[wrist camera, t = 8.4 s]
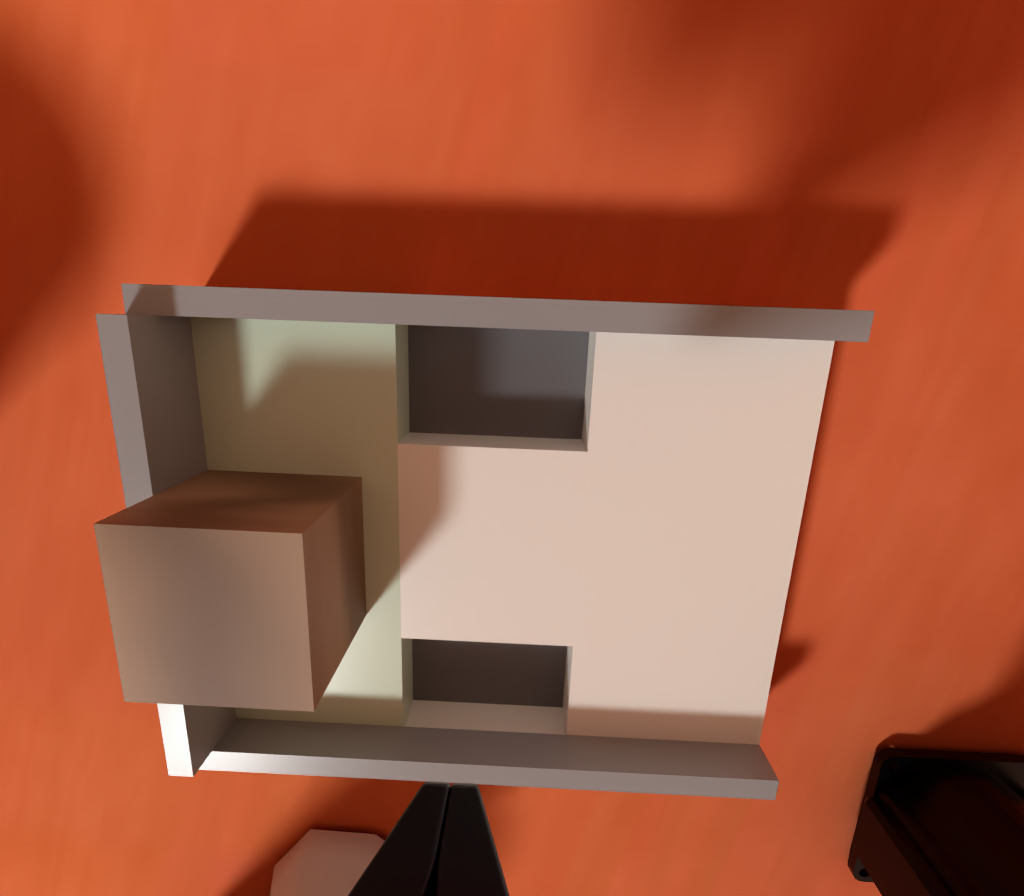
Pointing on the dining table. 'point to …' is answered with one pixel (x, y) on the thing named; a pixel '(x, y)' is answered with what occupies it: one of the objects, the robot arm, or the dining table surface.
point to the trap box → (504, 520)
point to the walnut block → (236, 588)
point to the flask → (324, 863)
